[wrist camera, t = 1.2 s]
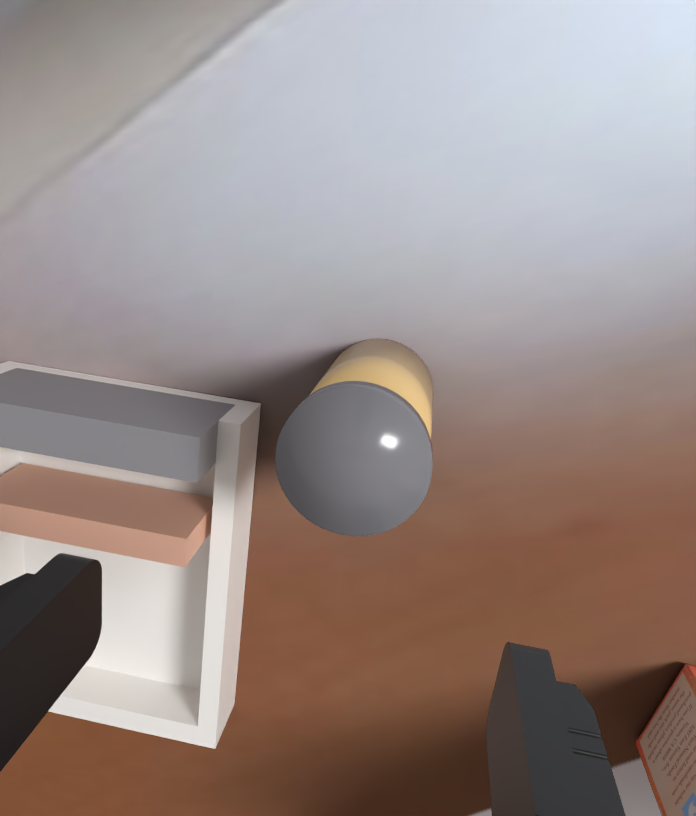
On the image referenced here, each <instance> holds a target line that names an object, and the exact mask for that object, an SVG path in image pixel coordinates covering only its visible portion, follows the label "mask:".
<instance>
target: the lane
mask: <svg viewBox="0 0 696 816" xmlns="http://www.w3.org/2000/svg"><path fill="white" fill-rule="evenodd" d="M260 409H261V403H256V402H250V401H244V400H238V399H232V398H226V397H220V396H214V395H208V394H202V393H196V392H190V391H184V390H178V389H173V388H167V387H161V386H155V385H149V384H143V383H137V382H131V381H125V380H119V379H113V378H107V377H101V376H95V375H89V374H83V373H77V372H71V371H66V370H60V369H54V368H48V367H42V366H36V365H30V364H24V363H18V362H12V361H7V362H4V363H1V364H0V476H2V475H3V474H5V473H7V472H8V471H10V470H12V469H13V468H15V467H17V466H18V465H20V464H22V463H26V464H32V465H37V466H42V467H48V468H53V469H59V470H64V471H69V472H75V473H80V474H86V475H91V476H96V477H102V478H107V479H113V480H118V481H123V482H129V483H134V484H140V485H145V486H151V487H156V488H161V489H167V490H172V491H178V492H183V493H188V494H194V495H199V496H205V497H210V498H213V508H212V523H211V533H210V534H209V535H208V537H207V538H206V539H205V541H204V542H203V543H202V545H201V546H200V548H199V549H198V550H197V552H196V553H195V554H194V556H193V557H192V558H191V560H190V561H189V563H188V564H187V565H186V567H180V566H175V565H170V564H165V563H160V562H155V561H150V560H145V559H139V558H134V557H129V556H124V555H119V554H114V553H109V552H104V551H99V550H94V549H89V548H84V547H79V546H73V545H68V544H63V543H58V542H53V541H48V540H43V539H38V538H33V537H28V536H23V535H18V534H13V533H7V532H2V531H0V585H2V584H4V583H7V582H9V581H11V580H13V579H15V578H17V577H19V576H21V575H24V574H26V573H30V574H36V573H37V572H38V571H39V570H40V569H41V568H42V567H43V566H44V565H46V564H47V563H48V562H49V561H50V560H51V559H52V558H53V557H55V556H56V555H57V554H59V553H65V554H70V555H75V556H80V557H85V558H90V559H95V560H98V561H99V562H100V564H101V567H102V628H101V634H100V637H99V641H98V644H97V646H96V648H95V650H94V652H93V654H92V656H91V657H90V659H89V660H88V661H87V662H86V664H85V665H84V666H83V668H82V669H81V670H80V671H79V673H78V674H77V675H76V676H75V678H74V679H73V680H72V681H71V683H70V684H69V685H68V687H67V688H66V689H65V690H64V692H63V693H62V694H61V695H60V697H59V698H58V699H57V700H56V702H55V703H54V704H53V706H52V707H51V708H50V709H49V712H54V713H58V714H63V715H67V716H71V717H76V718H80V719H85V720H89V721H94V722H98V723H102V724H107V725H111V726H116V727H120V728H125V729H129V730H134V731H138V732H142V733H147V734H151V735H156V736H160V737H165V738H169V739H173V740H178V741H182V742H187V743H191V744H196V745H200V746H205V747H209V748H213V749H215V748H216V746H217V743H218V741H219V739H220V736H221V734H222V732H223V729H224V727H225V725H226V722H227V720H228V718H229V715H230V713H231V711H232V708H233V706H234V703H235V692H236V680H237V669H238V658H239V646H240V635H241V624H242V613H243V601H244V590H245V579H246V567H247V556H248V545H249V533H250V522H251V511H252V500H253V488H254V477H255V466H256V454H257V443H258V432H259V421H260Z"/></svg>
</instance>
